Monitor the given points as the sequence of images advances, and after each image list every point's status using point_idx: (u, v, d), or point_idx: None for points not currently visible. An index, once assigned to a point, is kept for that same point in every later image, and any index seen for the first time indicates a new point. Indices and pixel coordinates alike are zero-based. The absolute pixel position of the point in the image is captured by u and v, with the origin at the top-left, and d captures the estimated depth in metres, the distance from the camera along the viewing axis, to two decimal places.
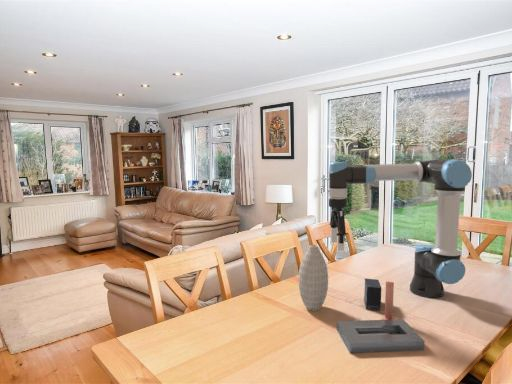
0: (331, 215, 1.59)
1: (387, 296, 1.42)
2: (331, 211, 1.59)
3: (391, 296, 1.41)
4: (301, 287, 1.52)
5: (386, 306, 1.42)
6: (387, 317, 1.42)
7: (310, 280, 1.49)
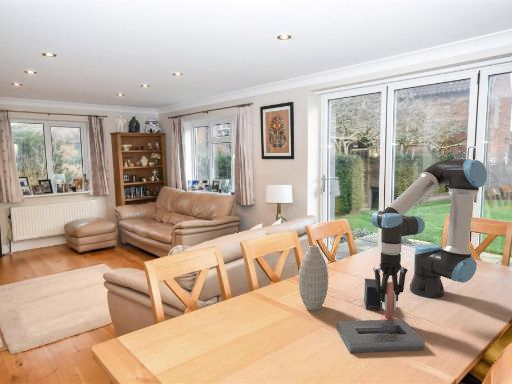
0: (400, 276, 1.43)
1: (387, 296, 1.42)
2: None
3: (391, 296, 1.41)
4: (301, 287, 1.52)
5: None
6: (387, 317, 1.42)
7: (310, 280, 1.49)
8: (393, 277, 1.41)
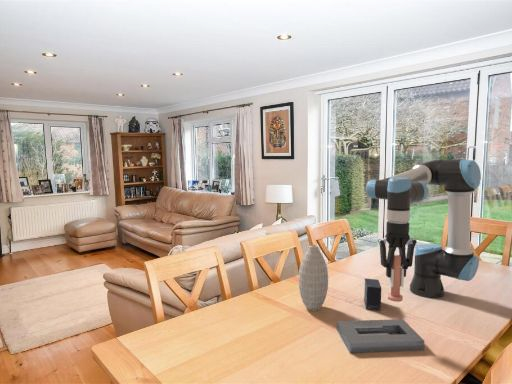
0: None
1: (394, 271, 1.26)
2: None
3: (398, 271, 1.25)
4: (301, 287, 1.52)
5: None
6: (394, 294, 1.27)
7: (310, 280, 1.49)
8: (400, 249, 1.26)
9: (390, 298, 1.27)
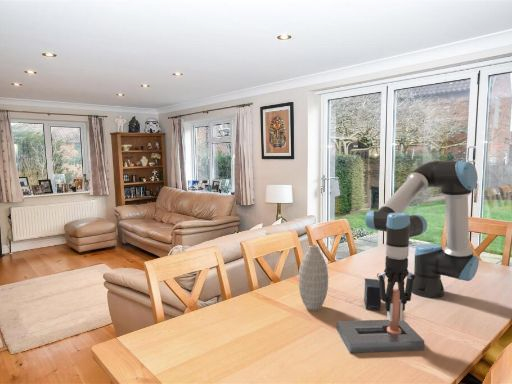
0: None
1: None
2: None
3: (397, 305, 1.27)
4: (301, 287, 1.52)
5: None
6: (392, 329, 1.28)
7: (310, 280, 1.49)
8: (399, 284, 1.27)
9: (389, 332, 1.28)
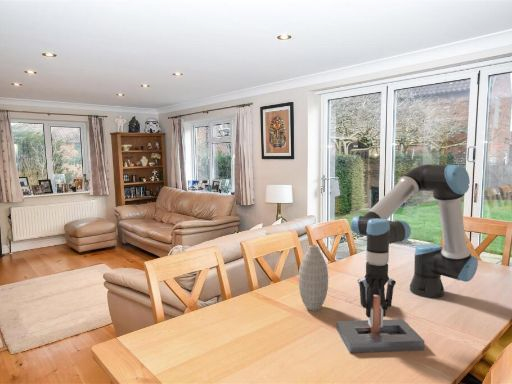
0: None
1: (373, 311, 1.27)
2: None
3: (377, 311, 1.27)
4: (301, 287, 1.52)
5: None
6: None
7: (310, 280, 1.49)
8: (380, 290, 1.27)
9: None
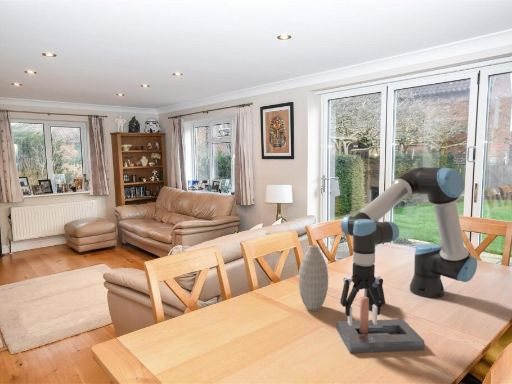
0: None
1: (361, 313, 1.27)
2: None
3: (366, 313, 1.26)
4: (301, 287, 1.52)
5: (360, 324, 1.28)
6: None
7: (310, 280, 1.49)
8: (369, 290, 1.27)
9: None
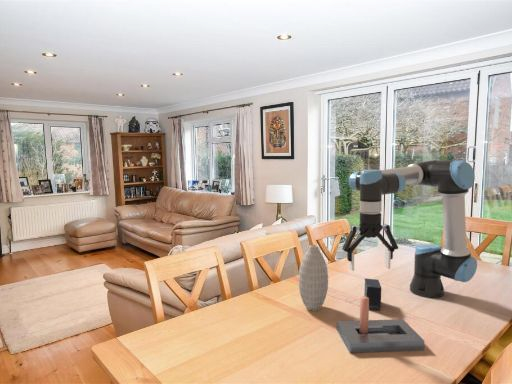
0: None
1: (361, 313, 1.27)
2: None
3: (366, 313, 1.26)
4: (301, 287, 1.52)
5: (360, 324, 1.28)
6: None
7: (310, 280, 1.49)
8: (379, 238, 1.30)
9: None
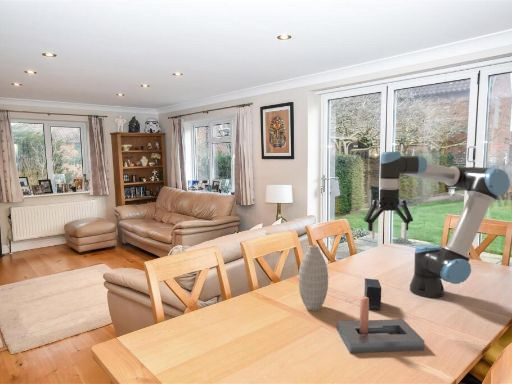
0: (403, 208, 1.51)
1: (361, 313, 1.27)
2: None
3: (366, 313, 1.26)
4: (301, 287, 1.52)
5: (360, 324, 1.28)
6: None
7: (310, 280, 1.49)
8: (396, 211, 1.49)
9: None
